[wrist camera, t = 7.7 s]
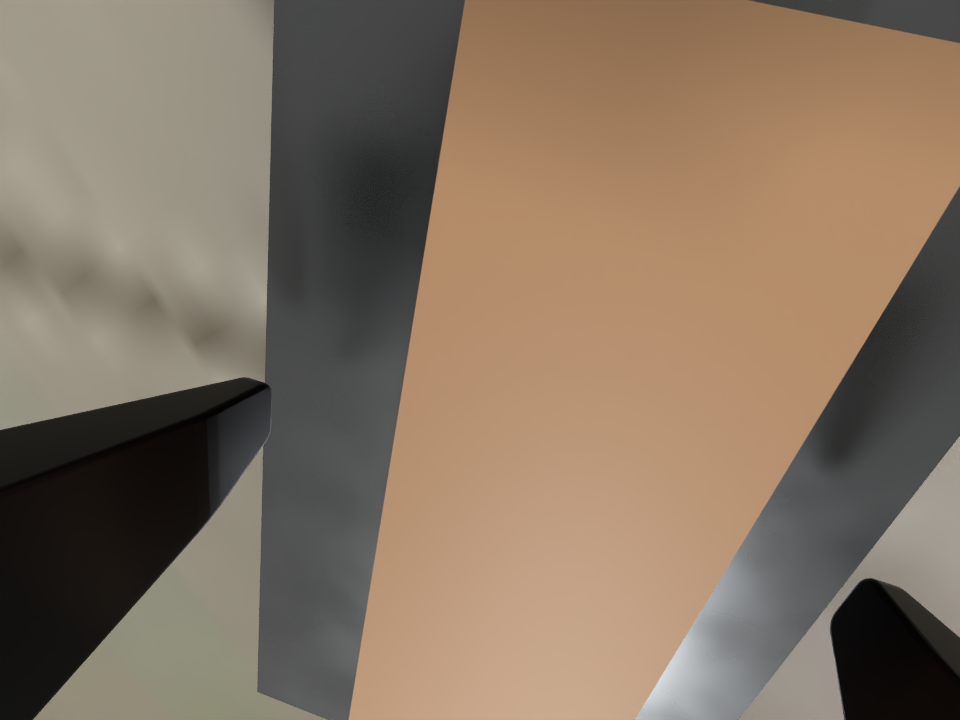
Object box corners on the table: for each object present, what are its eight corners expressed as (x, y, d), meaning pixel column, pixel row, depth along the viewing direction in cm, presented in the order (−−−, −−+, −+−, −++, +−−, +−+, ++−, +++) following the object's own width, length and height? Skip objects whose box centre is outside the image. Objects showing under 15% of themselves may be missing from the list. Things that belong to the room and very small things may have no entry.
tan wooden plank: (783, 94, 9) (1035, 60, 4) (578, 576, 14) (556, 848, 9) (553, 43, 9) (474, -57, 4) (439, 530, 15) (341, 761, 9)
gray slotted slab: (1276, -296, 6) (1772, -606, 4) (636, 724, 16) (641, 843, 14) (406, -410, 7) (292, -703, 5) (311, 604, 17) (257, 691, 15)
